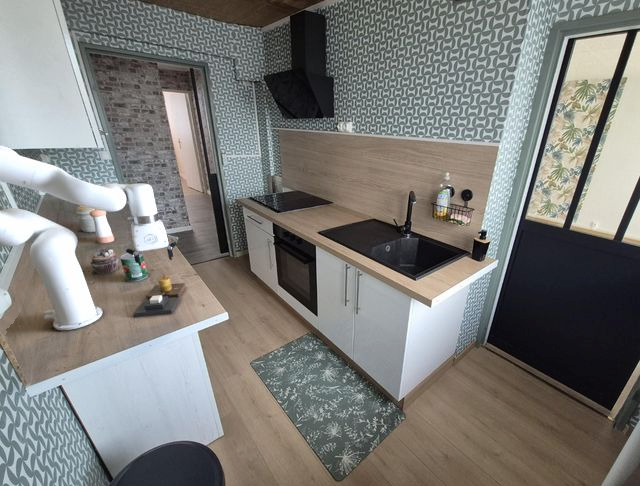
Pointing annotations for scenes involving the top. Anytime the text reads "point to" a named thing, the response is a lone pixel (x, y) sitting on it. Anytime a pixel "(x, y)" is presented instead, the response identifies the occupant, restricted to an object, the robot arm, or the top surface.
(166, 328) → the top surface
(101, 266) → the cupcake
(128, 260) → the canned tomato
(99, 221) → the salt shaker
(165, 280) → the yellow rounded cylinder
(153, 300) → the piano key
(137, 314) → the dark gray stepped base
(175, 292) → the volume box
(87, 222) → the jar
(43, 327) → the top surface
